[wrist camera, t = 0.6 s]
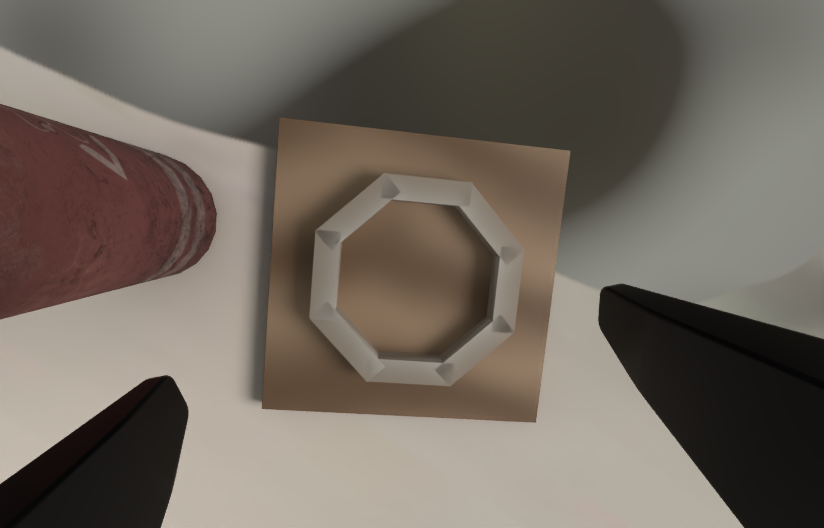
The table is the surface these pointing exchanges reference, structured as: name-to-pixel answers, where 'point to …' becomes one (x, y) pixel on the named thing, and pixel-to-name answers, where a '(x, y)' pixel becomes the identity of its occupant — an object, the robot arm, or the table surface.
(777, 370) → the robot arm
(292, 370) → the cup holder
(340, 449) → the table surface
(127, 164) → the can
